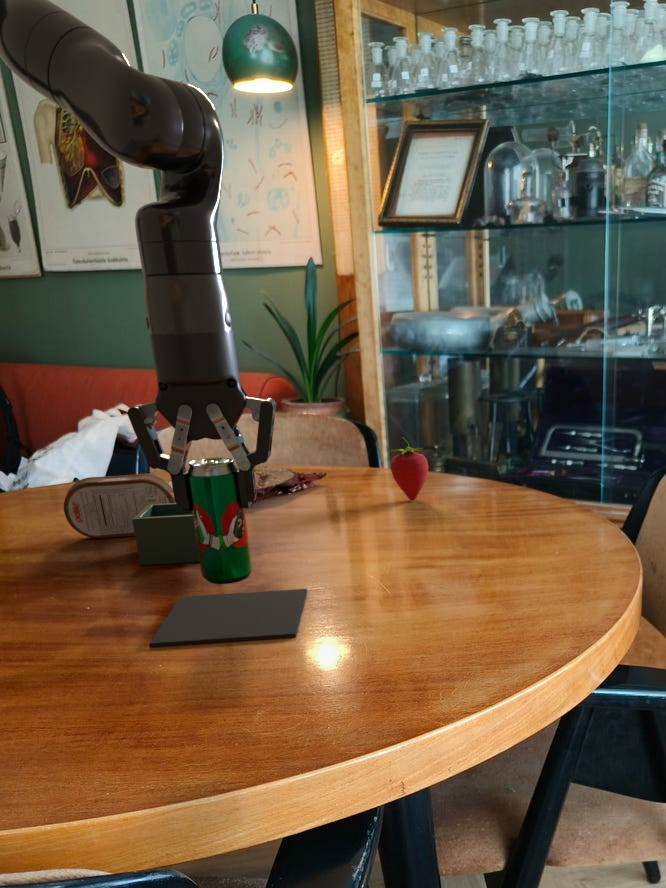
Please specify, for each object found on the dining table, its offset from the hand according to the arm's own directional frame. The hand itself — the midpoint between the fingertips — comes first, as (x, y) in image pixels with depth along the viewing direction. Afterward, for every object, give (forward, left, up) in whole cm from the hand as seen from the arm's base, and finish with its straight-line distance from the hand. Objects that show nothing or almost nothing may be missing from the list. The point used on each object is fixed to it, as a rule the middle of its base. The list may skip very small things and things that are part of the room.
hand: (217, 507), depth 88 cm
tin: (-21, +38, -12) cm, 45 cm away
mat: (0, 0, -12) cm, 12 cm away
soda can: (0, 0, -8) cm, 8 cm away
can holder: (-11, +26, -12) cm, 30 cm away
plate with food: (-11, +63, -12) cm, 65 cm away
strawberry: (+20, +50, -12) cm, 55 cm away
